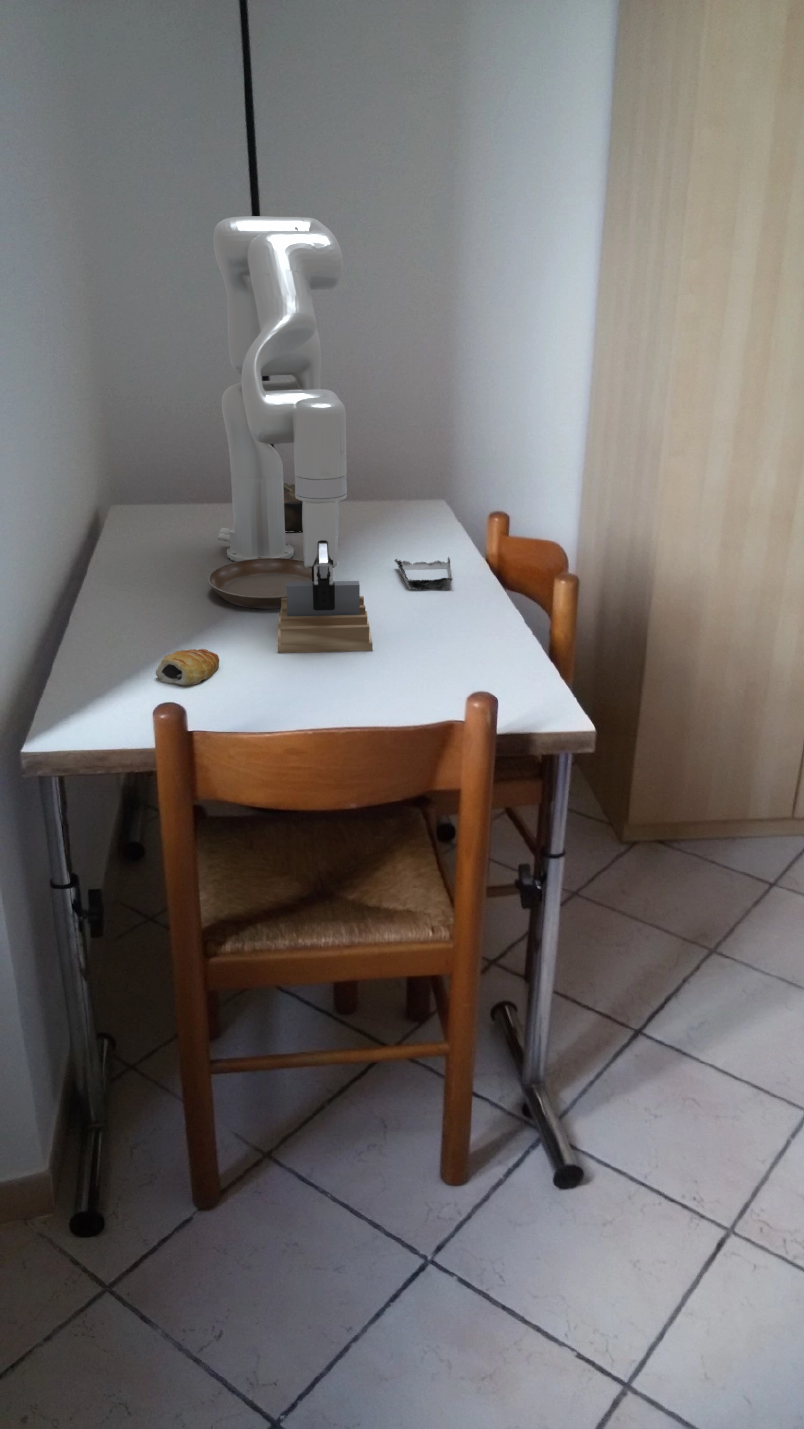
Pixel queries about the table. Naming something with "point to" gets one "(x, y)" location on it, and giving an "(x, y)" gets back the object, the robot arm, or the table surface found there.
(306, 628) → the board rack
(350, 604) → the slate board
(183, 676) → the pastry
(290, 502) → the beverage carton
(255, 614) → the table surface
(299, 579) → the plant saucer
